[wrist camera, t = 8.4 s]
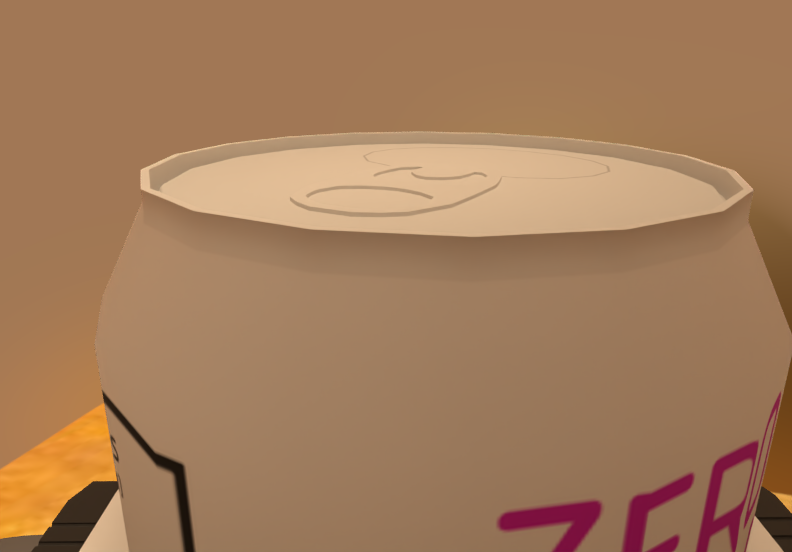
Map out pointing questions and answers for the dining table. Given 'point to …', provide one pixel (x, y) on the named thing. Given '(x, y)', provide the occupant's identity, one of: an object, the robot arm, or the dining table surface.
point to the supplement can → (440, 348)
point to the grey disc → (19, 543)
